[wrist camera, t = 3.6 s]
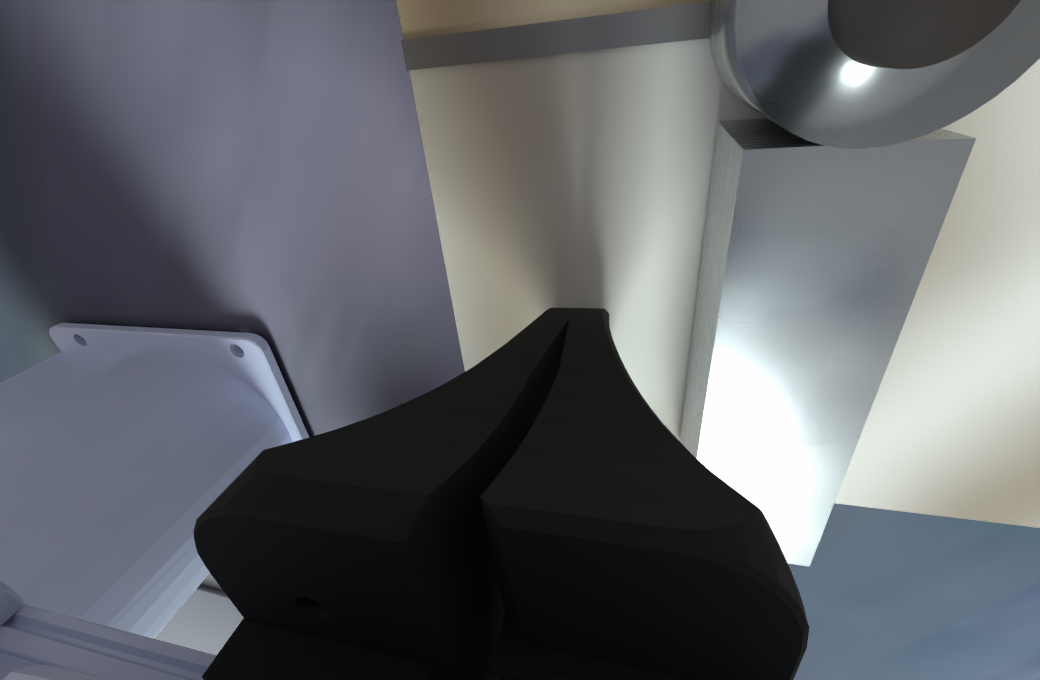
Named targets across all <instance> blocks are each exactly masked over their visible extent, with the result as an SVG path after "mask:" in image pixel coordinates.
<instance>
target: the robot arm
mask: <svg viewBox="0 0 1040 680" xmlns="http://www.w3.org/2000/svg"><path fill="white" fill-rule="evenodd" d="M49 334H50V336H51V338H52V340H53V341H54V342H55V344H56V345H57V347H58V348H59V349H60V351H61V352H60V353H58V354H56V355H54V356H52V357H50V358H48V359H46V360H44V361H42V362H40V363H38V364H36V365H34V366H33V367H31V368H29V369H27V370H25V371H23V372H21V373H19V374H17V375H15V376H13V377H11V378H9V379H7V380H5V381H3V382H1V383H0V680H793V679H794V677H795V674H796V672H797V669H798V667H799V665H800V662H801V660H802V657H803V655H804V653H805V650H806V648H807V641H808V632H809V626H808V622H807V619H806V614H805V610H804V606H803V603H802V600H801V596H800V593H799V590H798V588H797V585H796V583H795V580H794V578H793V575H792V573H791V570H790V568H789V566H788V563H787V561H786V559H785V557H784V554H783V552H782V550H781V548H780V545H779V543H778V541H777V539H776V537H775V535H774V533H773V531H772V529H771V527H770V525H769V523H768V521H767V519H766V518H765V516H764V514H763V512H762V511H761V510H760V509H759V508H758V507H757V506H755V505H754V504H753V503H752V502H750V501H749V500H748V499H746V498H745V497H744V496H742V495H741V494H740V493H738V492H737V491H736V490H735V489H733V488H732V487H731V486H729V485H728V484H727V483H725V482H724V481H723V480H721V479H720V478H719V477H718V476H716V475H715V474H714V473H712V472H711V471H710V470H709V469H708V468H706V467H705V466H704V465H703V464H702V463H701V462H700V461H699V460H698V459H697V458H695V457H694V456H693V455H692V454H691V453H690V452H689V451H688V450H687V448H686V447H685V446H684V445H683V444H682V443H681V442H680V441H679V440H678V439H677V438H676V437H675V436H674V435H673V434H672V433H671V431H670V430H669V429H668V428H667V427H666V426H665V425H664V424H663V423H662V422H661V420H660V419H659V418H658V416H657V415H656V414H655V413H654V411H653V410H652V409H651V408H650V406H649V405H648V403H647V402H646V401H645V399H644V398H643V396H642V395H641V394H640V392H639V390H638V389H637V387H636V386H635V384H634V382H633V381H632V379H631V377H630V375H629V374H628V372H627V370H626V368H625V366H624V364H623V362H622V360H621V358H620V356H619V353H618V351H617V348H616V346H615V344H614V341H613V338H612V335H611V331H610V327H609V313H608V312H607V311H606V310H605V309H603V308H549V309H548V310H546V311H545V312H544V313H542V314H541V315H540V316H539V317H538V318H536V319H535V320H534V321H533V322H532V323H530V324H529V325H528V326H527V327H526V328H524V329H523V330H522V331H521V332H520V333H518V334H517V335H516V336H515V337H513V338H512V339H511V340H510V341H508V342H507V343H506V344H505V345H503V346H502V347H500V348H499V349H498V350H496V351H495V352H493V353H492V354H491V355H489V356H488V357H486V358H485V359H484V360H482V361H481V362H479V363H478V364H477V365H475V366H474V367H472V368H470V369H469V370H467V371H466V372H464V373H462V374H461V375H459V376H457V377H456V378H454V379H452V380H450V381H449V382H447V383H445V384H443V385H441V386H440V387H438V388H436V389H434V390H432V391H430V392H428V393H426V394H423V395H421V396H419V397H417V398H415V399H413V400H410V401H408V402H406V403H404V404H402V405H400V406H398V407H395V408H393V409H391V410H388V411H386V412H383V413H381V414H378V415H375V416H373V417H370V418H368V419H365V420H362V421H359V422H356V423H354V424H351V425H348V426H345V427H342V428H339V429H336V430H333V431H330V432H327V433H323V434H320V435H316V436H312V437H309V436H308V433H307V431H306V429H305V426H304V424H303V422H302V420H301V417H300V415H299V413H298V410H297V408H296V406H295V404H294V401H293V399H292V397H291V394H290V392H289V390H288V388H287V385H286V383H285V381H284V378H283V376H282V374H281V371H280V369H279V367H278V365H277V362H276V360H275V358H274V355H273V353H272V351H271V349H270V346H269V345H268V343H267V341H266V340H264V339H263V338H262V337H261V336H259V335H257V334H253V333H241V332H223V331H205V330H186V329H168V328H150V327H131V326H113V325H94V324H76V323H59V324H57V325H55V326H53V327H51V328H50V329H49ZM209 573H211V575H212V576H213V577H214V579H215V580H216V581H217V583H218V584H219V585H220V587H221V588H222V589H223V591H224V592H225V593H226V595H227V596H228V597H229V599H230V600H231V601H232V603H233V604H234V605H235V606H236V608H237V609H238V611H239V612H240V613H241V614H242V616H243V617H244V619H243V620H242V621H241V623H240V624H239V626H238V627H237V628H236V630H235V631H234V632H233V634H232V635H231V637H230V638H229V639H228V641H227V642H226V644H225V645H224V647H223V648H222V649H221V651H220V652H219V653H218V655H217V656H216V655H213V654H209V653H205V652H202V651H198V650H194V649H190V648H187V647H183V646H179V645H175V644H172V643H167V642H164V641H160V640H157V639H154V638H155V637H156V636H157V634H158V633H159V632H160V631H161V630H162V629H163V627H164V626H165V625H166V624H167V623H168V622H169V620H170V619H171V618H172V616H174V614H175V613H176V612H177V611H178V610H179V609H180V607H181V606H182V605H183V604H184V603H185V601H186V600H187V599H188V598H189V597H190V596H191V594H192V593H193V592H194V591H195V590H196V589H197V587H198V586H199V585H200V584H201V583H202V581H203V580H204V579H205V578H206V577H207V576H208V574H209Z"/></svg>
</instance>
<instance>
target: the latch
mask: <svg viewBox="0 0 1040 680" xmlns="http://www.w3.org/2000/svg"><path fill="white" fill-rule="evenodd" d="M709 40H710V49H711V54H712V59H713V62H714V65H715V68H716V71H717V73H718V75H719V77H720V79H721V80H722V82H723V84H724V85H725V86H726V88H727V89H728V90H729V92H730V93H731V94H732V95H733V96H734V97H736V98H737V99H738V100H739V101H740V102H742V103H743V104H745V105H746V106H748V107H749V108H751V109H753V110H754V111H756V112H758V113H759V114H761V115H763V116H764V117H766V118H757V119H742V120H727V121H718V122H717V130H716V138H715V147H714V155H713V163H712V172H711V180H710V189H709V197H708V205H707V214H706V222H705V230H704V239H703V247H702V256H701V264H700V272H699V281H698V289H697V297H696V306H695V314H694V323H693V331H692V339H691V348H690V356H689V364H688V373H687V381H686V390H685V398H684V406H683V415H682V423H681V431H680V440H679V441H680V442H681V443H682V444H683V445H684V446H685V447H686V448H687V450H688V451H689V452H690V453H691V454H692V455H693V456H694V457H695V458H697V459H698V460H699V461H700V462H701V463H702V464H703V465H704V466H705V467H706V468H708V469H709V470H710V471H711V472H712V473H714V474H715V475H716V476H718V477H719V478H720V479H721V480H723V481H724V482H725V483H727V484H728V485H729V486H731V487H732V488H733V489H735V490H736V491H737V492H738V493H740V494H741V495H742V496H744V497H745V498H746V499H748V500H749V501H750V502H752V503H753V504H754V505H755V506H757V507H758V508H759V509H760V510H761V511H762V512H763V514H764V516H765V518H766V519H767V521H768V523H769V525H770V527H771V529H772V531H773V533H774V535H775V537H776V539H777V541H778V543H779V545H780V548H781V550H782V552H783V554H784V557H785V559H786V561H787V563H790V564H796V565H803V566H810V564H811V561H812V559H813V556H814V554H815V551H816V549H817V546H818V543H819V541H820V538H821V536H822V533H823V531H824V528H825V525H826V523H827V520H828V518H829V515H830V513H831V510H832V507H833V505H834V502H835V500H836V497H837V495H838V492H839V489H840V487H841V484H842V482H843V479H844V477H845V474H846V472H847V469H848V466H849V464H850V461H851V459H852V456H853V454H854V451H855V448H856V446H857V443H858V441H859V438H860V436H861V433H862V430H863V428H864V425H865V423H866V420H867V418H868V415H869V412H870V410H871V407H872V405H873V402H874V400H875V397H876V394H877V392H878V389H879V387H880V384H881V382H882V379H883V377H884V374H885V371H886V369H887V366H888V364H889V361H890V359H891V356H892V353H893V351H894V348H895V346H896V343H897V341H898V338H899V335H900V333H901V330H902V328H903V325H904V323H905V320H906V317H907V315H908V312H909V310H910V307H911V305H912V302H913V300H914V297H915V294H916V292H917V289H918V287H919V284H920V282H921V279H922V276H923V274H924V271H925V269H926V266H927V264H928V261H929V258H930V256H931V253H932V251H933V248H934V246H935V243H936V240H937V238H938V235H939V233H940V230H941V228H942V225H943V223H944V220H945V217H946V215H947V212H948V210H949V207H950V205H951V202H952V199H953V197H954V194H955V192H956V189H957V187H958V184H959V181H960V179H961V176H962V174H963V171H964V169H965V166H966V163H967V161H968V158H969V156H970V153H971V151H972V148H973V146H974V143H975V140H976V138H974V137H971V136H967V135H963V134H960V133H956V132H952V131H949V130H945V129H941V128H943V127H946V126H948V125H950V124H952V123H954V122H955V121H957V120H959V119H961V118H963V117H965V116H966V115H968V114H970V113H972V112H973V111H975V110H976V109H978V108H980V107H981V106H983V105H984V104H986V103H987V102H989V101H990V100H992V99H993V98H995V97H996V96H997V95H998V94H1000V93H1001V92H1002V91H1003V90H1005V89H1006V88H1007V87H1009V86H1010V85H1011V84H1012V83H1014V82H1015V81H1016V80H1017V79H1018V78H1019V77H1021V76H1022V75H1023V74H1024V73H1025V72H1026V71H1027V70H1028V69H1029V68H1030V67H1031V66H1032V65H1033V64H1034V63H1036V62H1037V61H1038V60H1039V59H1040V0H1021V1H1020V3H1019V4H1018V5H1017V6H1016V7H1015V9H1014V10H1013V11H1012V12H1011V13H1010V15H1009V16H1008V17H1007V18H1006V19H1005V20H1004V21H1003V22H1002V23H1001V24H1000V25H999V26H998V27H997V28H996V29H994V30H993V31H992V32H991V33H990V34H989V35H987V36H986V37H985V38H984V39H982V40H981V41H979V42H978V43H977V44H975V45H974V46H972V47H971V48H969V49H967V50H966V51H964V52H962V53H961V54H959V55H956V56H954V57H952V58H950V59H948V60H946V61H943V62H940V63H938V64H934V65H931V66H927V67H922V68H915V69H892V68H880V67H871V66H867V65H863V64H860V63H858V62H856V61H854V60H852V59H851V58H849V57H848V56H846V55H845V54H844V53H843V52H842V51H841V50H840V49H839V47H838V46H837V44H836V43H835V41H834V39H833V36H832V34H831V31H830V27H829V23H828V0H713V3H712V8H711V14H710V24H709Z"/></svg>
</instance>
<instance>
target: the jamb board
mask: <svg viewBox="0 0 1040 680" xmlns="http://www.w3.org/2000/svg"><path fill="white" fill-rule="evenodd" d="M396 1H397V7H398V12H399V18H400V23H401V28H402V34H403V39H404V40H401V41H402V46H403V52H404V57H405V62H406V68H407V71H408V70H409V72H410V77H411V82H412V88H413V93H414V99H415V104H416V110H417V115H418V120H419V126H420V131H421V137H422V142H423V147H424V153H425V158H426V164H427V169H428V174H429V180H430V185H431V191H432V196H433V202H434V207H435V212H436V218H437V223H438V229H439V234H440V239H441V245H442V250H443V256H444V261H445V266H446V272H447V277H448V283H449V288H450V294H451V299H452V304H453V310H454V315H455V321H456V326H457V331H458V337H459V342H460V348H461V353H462V358H463V364H464V369H465V372H466V371H467V370H469V369H470V368H472V367H474V366H475V365H477V364H478V363H479V362H481V361H482V360H484V359H485V358H486V357H488V356H489V355H491V354H492V353H493V352H495V351H496V350H498V349H499V348H500V347H502V346H503V345H505V344H506V343H507V342H508V341H510V340H511V339H512V338H513V337H515V336H516V335H517V334H518V333H520V332H521V331H522V330H523V329H524V328H526V327H527V326H528V325H529V324H530V323H532V322H533V321H534V320H535V319H536V318H538V317H539V316H540V315H541V314H542V313H544V312H545V311H546V310H548V309H549V308H603V309H605V310H606V311H607V312H608V313H609V327H610V331H611V335H612V338H613V341H614V344H615V346H616V348H617V351H618V353H619V356H620V358H621V360H622V362H623V364H624V366H625V368H626V370H627V372H628V374H629V375H630V377H631V379H632V381H633V382H634V384H635V386H636V387H637V389H638V390H639V392H640V394H641V395H642V396H643V398H644V399H645V401H646V402H647V403H648V405H649V406H650V408H651V409H652V410H653V411H654V413H655V414H656V415H657V416H658V418H659V419H660V420H661V422H662V423H663V424H664V425H665V426H666V427H667V428H668V429H669V430H670V431H671V433H672V434H673V435H674V436H675V437H676V438H677V439H678V440H680V431H681V423H682V415H683V406H684V398H685V390H686V381H687V373H688V364H689V356H690V348H691V339H692V331H693V323H694V314H695V306H696V297H697V289H698V281H699V272H700V264H701V256H702V247H703V239H704V230H705V222H706V214H707V205H708V197H709V189H710V180H711V172H712V163H713V155H714V147H715V138H716V130H717V122H718V121H727V120H742V119H757V118H766V117H764V116H763V115H761V114H759V113H758V112H756V111H754V110H753V109H751V108H749V107H748V106H746V105H745V104H743V103H742V102H740V101H739V100H738V99H737V98H736V97H734V96H733V95H732V94H731V93H730V92H729V90H728V89H727V88H726V86H725V85H724V84H723V82H722V80H721V79H720V77H719V75H718V73H717V71H716V68H715V65H714V62H713V59H712V54H711V49H710V40H709V24H710V14H711V8H712V3H713V0H396ZM1020 1H1021V0H828V23H829V27H830V31H831V34H832V36H833V39H834V41H835V43H836V44H837V46H838V47H839V49H840V50H841V51H842V52H843V53H844V54H845V55H846V56H848V57H849V58H851V59H852V60H854V61H856V62H858V63H860V64H863V65H867V66H871V67H880V68H892V69H915V68H922V67H927V66H931V65H934V64H938V63H940V62H943V61H946V60H948V59H950V58H952V57H954V56H956V55H959V54H961V53H962V52H964V51H966V50H967V49H969V48H971V47H972V46H974V45H975V44H977V43H978V42H979V41H981V40H982V39H984V38H985V37H986V36H987V35H989V34H990V33H991V32H992V31H993V30H994V29H996V28H997V27H998V26H999V25H1000V24H1001V23H1002V22H1003V21H1004V20H1005V19H1006V18H1007V17H1008V16H1009V15H1010V13H1011V12H1012V11H1013V10H1014V9H1015V7H1016V6H1017V5H1018V4H1019V3H1020ZM941 129H945V130H949V131H952V132H956V133H960V134H963V135H967V136H971V137H974V138H976V140H975V143H974V146H973V148H972V151H971V153H970V156H969V158H968V161H967V163H966V166H965V169H964V171H963V174H962V176H961V179H960V181H959V184H958V187H957V189H956V192H955V194H954V197H953V199H952V202H951V205H950V207H949V210H948V212H947V215H946V217H945V220H944V223H943V225H942V228H941V230H940V233H939V235H938V238H937V240H936V243H935V246H934V248H933V251H932V253H931V256H930V258H929V261H928V264H927V266H926V269H925V271H924V274H923V276H922V279H921V282H920V284H919V287H918V289H917V292H916V294H915V297H914V300H913V302H912V305H911V307H910V310H909V312H908V315H907V317H906V320H905V323H904V325H903V328H902V330H901V333H900V335H899V338H898V341H897V343H896V346H895V348H894V351H893V353H892V356H891V359H890V361H889V364H888V366H887V369H886V371H885V374H884V377H883V379H882V382H881V384H880V387H879V389H878V392H877V394H876V397H875V400H874V402H873V405H872V407H871V410H870V412H869V415H868V418H867V420H866V423H865V425H864V428H863V430H862V433H861V436H860V438H859V441H858V443H857V446H856V448H855V451H854V454H853V456H852V459H851V461H850V464H849V466H848V469H847V472H846V474H845V477H844V479H843V482H842V484H841V487H840V489H839V492H838V495H837V497H836V500H835V502H834V503H838V504H846V505H854V506H862V507H871V508H879V509H887V510H896V511H904V512H912V513H921V514H929V515H937V516H946V517H954V518H962V519H970V520H979V521H987V522H995V523H1004V524H1012V525H1020V526H1029V527H1037V528H1040V59H1039V60H1038V61H1037V62H1036V63H1034V64H1033V65H1032V66H1031V67H1030V68H1029V69H1028V70H1027V71H1026V72H1025V73H1024V74H1023V75H1022V76H1021V77H1019V78H1018V79H1017V80H1016V81H1015V82H1014V83H1012V84H1011V85H1010V86H1009V87H1007V88H1006V89H1005V90H1003V91H1002V92H1001V93H1000V94H998V95H997V96H996V97H995V98H993V99H992V100H990V101H989V102H987V103H986V104H984V105H983V106H981V107H980V108H978V109H976V110H975V111H973V112H972V113H970V114H968V115H966V116H965V117H963V118H961V119H959V120H957V121H955V122H954V123H952V124H950V125H948V126H946V127H943V128H941Z"/></svg>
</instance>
